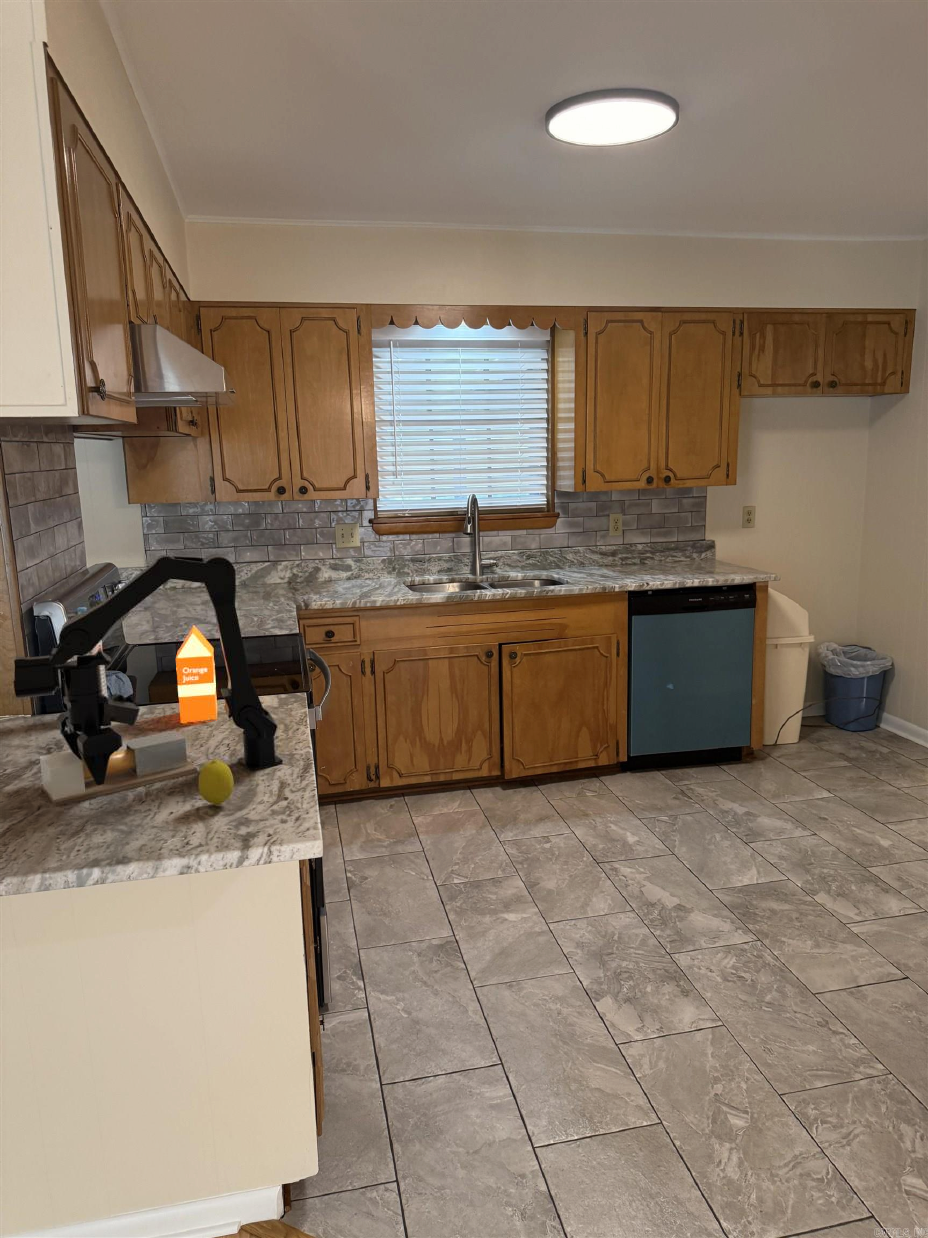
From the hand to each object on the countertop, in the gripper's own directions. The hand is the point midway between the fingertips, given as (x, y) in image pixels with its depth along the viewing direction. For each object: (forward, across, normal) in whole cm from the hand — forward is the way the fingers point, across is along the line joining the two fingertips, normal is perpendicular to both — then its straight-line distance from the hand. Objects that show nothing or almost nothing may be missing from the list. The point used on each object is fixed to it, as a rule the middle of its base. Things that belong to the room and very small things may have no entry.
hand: (93, 776), depth 146 cm
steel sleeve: (+2, 0, -11) cm, 11 cm away
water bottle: (+2, +42, -11) cm, 43 cm away
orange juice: (+2, +28, -30) cm, 41 cm away
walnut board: (+2, 0, -5) cm, 5 cm away
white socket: (+2, 0, +5) cm, 5 cm away
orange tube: (0, 0, -2) cm, 2 cm away
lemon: (+2, -22, -14) cm, 26 cm away
